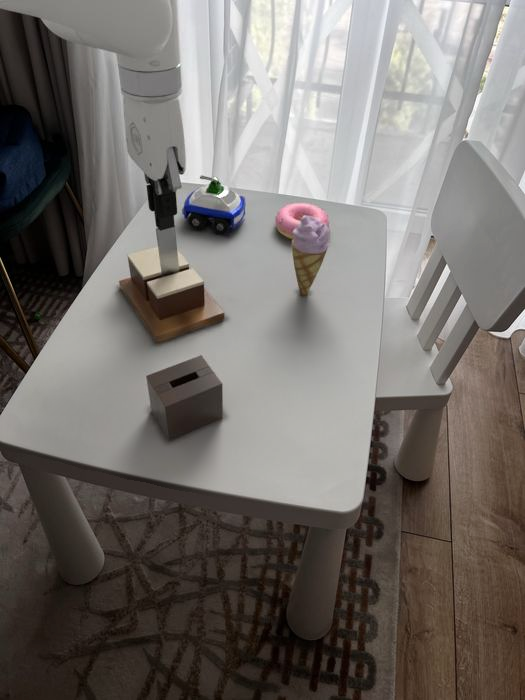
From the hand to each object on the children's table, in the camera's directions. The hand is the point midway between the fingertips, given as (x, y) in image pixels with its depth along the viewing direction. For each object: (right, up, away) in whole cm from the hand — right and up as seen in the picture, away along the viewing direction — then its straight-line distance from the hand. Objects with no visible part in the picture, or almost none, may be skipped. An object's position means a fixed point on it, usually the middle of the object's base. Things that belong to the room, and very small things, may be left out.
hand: (163, 211), depth 78 cm
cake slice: (+1, -13, +9) cm, 16 cm away
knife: (0, -9, +9) cm, 13 cm away
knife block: (+4, -29, -5) cm, 30 cm away
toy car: (+5, +6, +32) cm, 33 cm away
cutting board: (-1, -12, +12) cm, 17 cm away
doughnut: (+23, +4, +31) cm, 38 cm away
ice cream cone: (+22, -10, +16) cm, 29 cm away
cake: (-3, -9, +14) cm, 16 cm away
